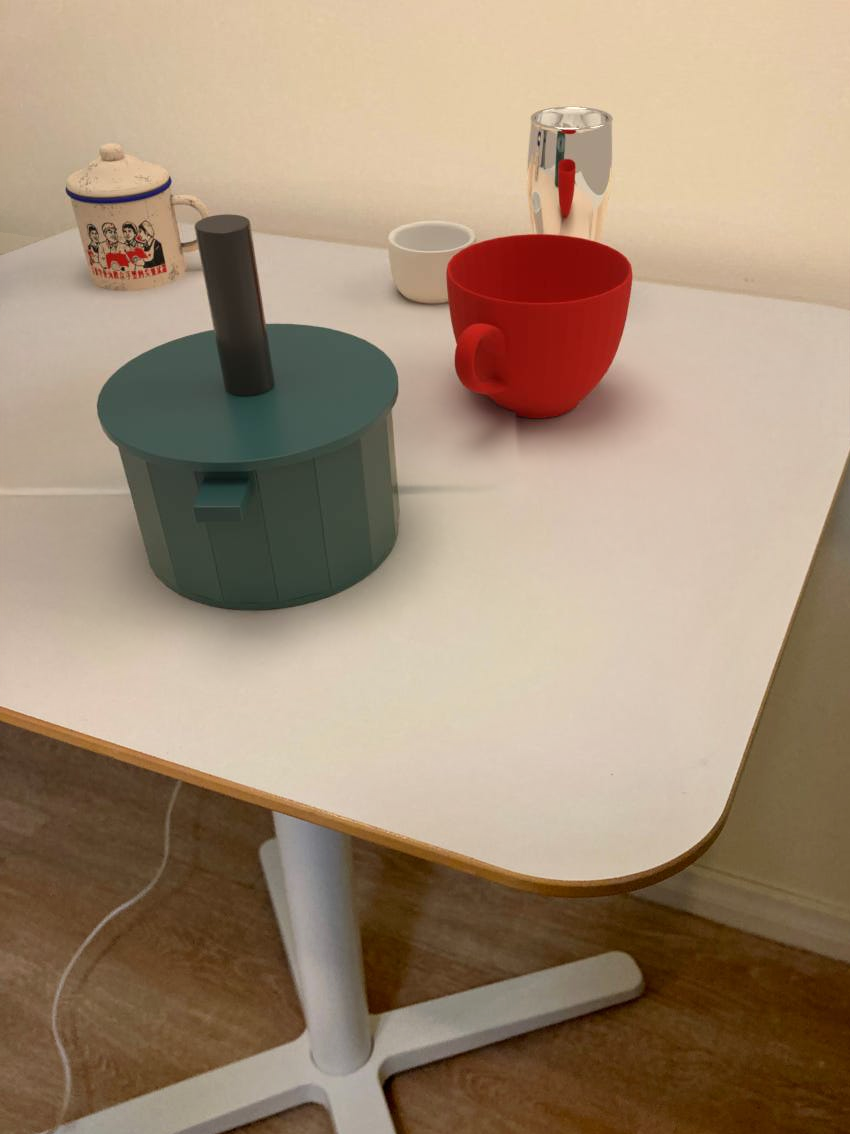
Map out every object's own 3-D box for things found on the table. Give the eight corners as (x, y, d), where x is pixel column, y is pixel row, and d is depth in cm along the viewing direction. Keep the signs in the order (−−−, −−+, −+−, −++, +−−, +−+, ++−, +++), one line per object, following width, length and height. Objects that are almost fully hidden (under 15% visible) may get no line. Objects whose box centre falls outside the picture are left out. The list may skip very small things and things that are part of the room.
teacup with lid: (80, 299, 94) (44, 163, 86) (100, 262, 101) (68, 133, 93) (214, 294, 94) (190, 158, 87) (225, 257, 101) (203, 128, 94)
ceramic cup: (386, 436, 74) (375, 301, 68) (504, 346, 85) (504, 222, 79) (546, 484, 69) (551, 343, 63) (650, 382, 80) (663, 252, 74)
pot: (104, 641, 58) (56, 495, 51) (188, 448, 73) (160, 319, 67) (384, 640, 57) (370, 494, 51) (408, 446, 73) (400, 317, 67)
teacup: (491, 305, 92) (490, 243, 88) (409, 320, 89) (406, 258, 86) (448, 266, 99) (446, 208, 95) (372, 280, 96) (367, 220, 93)
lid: (61, 483, 53) (-1, 289, 47) (145, 342, 66) (105, 173, 59) (387, 481, 53) (371, 286, 46) (408, 340, 66) (398, 170, 59)
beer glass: (613, 292, 94) (627, 110, 84) (586, 321, 89) (597, 132, 79) (542, 280, 96) (547, 102, 86) (512, 308, 91) (514, 123, 81)
